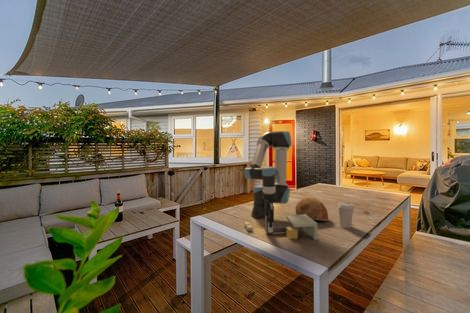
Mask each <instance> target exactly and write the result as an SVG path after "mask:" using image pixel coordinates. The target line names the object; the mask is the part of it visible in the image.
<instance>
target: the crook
mask: <svg viewBox="0 0 470 313" xmlns="http://www.w3.org/2000/svg"><path fill="white" fill-rule="evenodd" d="M267 221H268V215H266V216H265V218H264V223H265V224H264V226H265V228H264V232H265V233H266V234H267V235H271V234H272V235H273V234H280V233H286V227H294V226H293V225H292V224H290V225H279V226H278V225H277V226H273V232H272V233H268V222H267ZM295 228H296V229H297V230H298V237H301V235H302V234H301V230H300V228H299V227H295Z"/></svg>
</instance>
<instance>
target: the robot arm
mask: <svg viewBox="0 0 470 313" xmlns="http://www.w3.org/2000/svg"><path fill="white" fill-rule="evenodd" d="M271 147H272V148H273V150H274V152H275V153H274V154H275V155H274V156H275V158H274V166H264V167H262V166H263V164H264V159H265V156H266V153H267V150H268V149H269V148H271ZM290 147H292V136H291V133H290V131H287V130H281V131H267V132H265V133H263V134H262V135H261V136H259V138H258V140H257V142H256V149H255V150H254V151H255V152H254V153H253V157H252V160H251V161H250V162H251V163H250V164H249V167H245V168H244V170H243V175H244V178H245V179H246V180H256V181H257V180H262V184H258V185H254V186H253V192H252V194H253V207H252V210H251V217H252V218H255V217H256V218H255V219H260V218H264V219H265V216H266V215H268V221H267V222H268V233H272V232H273V227H274V222H275V206H274V204H280V205H286V204H288V202H289V201H290V196H291V195H290V194H291V188H290V187H289V185H288V183H287V164H288V163H287V162H288V161H287V160H288V151H289V150H290Z"/></svg>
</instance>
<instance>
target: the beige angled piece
mask: <svg viewBox="0 0 470 313" xmlns="http://www.w3.org/2000/svg"><path fill="white" fill-rule="evenodd" d="M285 219H287V221H288V222H289V223H290V225H293V226H294V227H297V228H303V229H302V230H304V232H306V233H307V234H308V235H309V236H310V237H311V238H312V239H313V240H314V241H317V240H318V222H316V221H315V220H314V219H311V218H310V217H308V216H307V215H306V214H302V215H297V214H286V215H285Z"/></svg>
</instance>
